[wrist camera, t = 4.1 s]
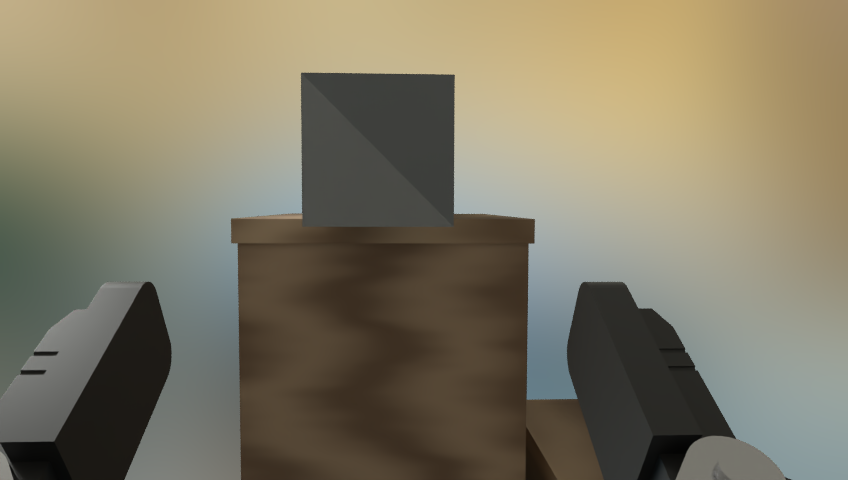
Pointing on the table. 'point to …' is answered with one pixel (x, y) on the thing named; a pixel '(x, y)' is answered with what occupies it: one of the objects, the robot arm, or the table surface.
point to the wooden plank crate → (394, 355)
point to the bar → (377, 150)
